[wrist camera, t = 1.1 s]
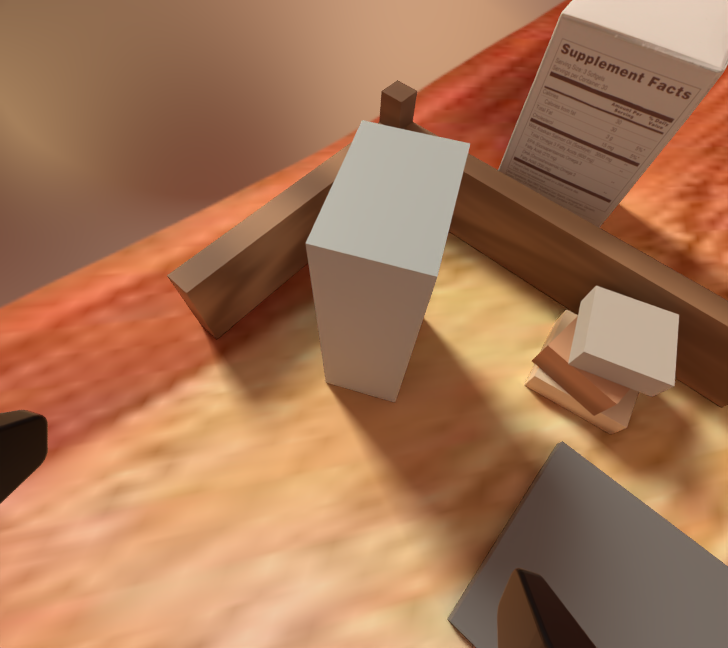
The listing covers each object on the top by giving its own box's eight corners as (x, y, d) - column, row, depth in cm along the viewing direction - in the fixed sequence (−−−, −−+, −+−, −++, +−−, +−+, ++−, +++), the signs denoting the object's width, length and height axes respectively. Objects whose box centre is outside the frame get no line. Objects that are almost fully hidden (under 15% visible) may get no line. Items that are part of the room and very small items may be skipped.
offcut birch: (605, 436, 22) (626, 427, 20) (520, 388, 23) (534, 375, 22) (629, 366, 24) (652, 353, 22) (551, 325, 25) (566, 309, 24)
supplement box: (519, 156, 32) (611, -49, 21) (610, 197, 30) (763, -4, 19) (477, 212, 29) (557, 7, 18) (575, 261, 27) (732, 68, 16)
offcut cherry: (593, 415, 21) (617, 404, 19) (531, 360, 22) (547, 345, 20) (644, 358, 22) (669, 342, 21) (583, 310, 24) (602, 291, 22)
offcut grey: (651, 396, 19) (674, 386, 18) (567, 364, 20) (583, 351, 18) (658, 329, 21) (679, 314, 20) (580, 301, 22) (596, 285, 20)
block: (395, 402, 22) (437, 276, 12) (326, 382, 23) (305, 243, 12) (418, 312, 25) (470, 143, 14) (356, 295, 25) (362, 120, 15)
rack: (594, 691, 17) (738, 780, 10) (200, 324, 24) (149, 249, 18) (729, 388, 23) (867, 333, 17) (387, 173, 31) (397, 80, 24)
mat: (670, 840, 15) (682, 851, 14) (447, 619, 18) (450, 621, 17) (752, 592, 18) (764, 593, 18) (557, 443, 21) (562, 441, 21)
